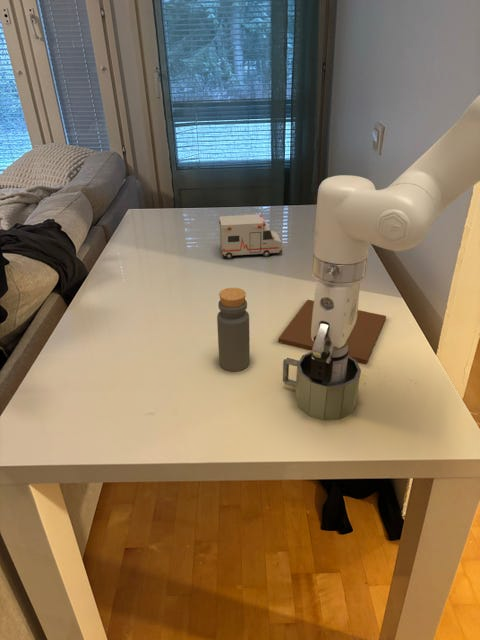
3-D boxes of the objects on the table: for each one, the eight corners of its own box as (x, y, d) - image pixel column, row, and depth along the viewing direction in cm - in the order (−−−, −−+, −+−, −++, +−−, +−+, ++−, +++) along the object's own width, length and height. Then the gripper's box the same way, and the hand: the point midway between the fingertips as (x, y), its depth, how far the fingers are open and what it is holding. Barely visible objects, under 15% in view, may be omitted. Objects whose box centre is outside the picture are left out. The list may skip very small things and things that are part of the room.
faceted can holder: (361, 390, 82) (366, 358, 78) (346, 427, 74) (350, 393, 71) (292, 371, 87) (294, 340, 83) (271, 404, 79) (272, 371, 76)
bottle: (241, 350, 93) (240, 283, 85) (255, 366, 88) (254, 296, 81) (214, 358, 91) (210, 290, 83) (227, 375, 86) (224, 304, 78)
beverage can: (344, 392, 81) (351, 335, 75) (339, 414, 77) (346, 354, 71) (312, 386, 83) (317, 329, 77) (305, 406, 78) (309, 348, 72)
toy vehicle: (282, 257, 132) (284, 223, 127) (222, 260, 131) (220, 226, 125) (276, 244, 140) (277, 212, 135) (219, 247, 139) (218, 215, 134)
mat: (385, 319, 102) (386, 315, 101) (366, 364, 88) (367, 360, 88) (307, 303, 109) (307, 299, 108) (278, 342, 95) (278, 338, 95)
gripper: (348, 297, 59) (336, 403, 68) (378, 248, 72) (364, 342, 81) (292, 286, 62) (287, 389, 71) (331, 241, 75) (322, 332, 84)
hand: (328, 363), depth 76 cm, fingers open, 7 cm apart
